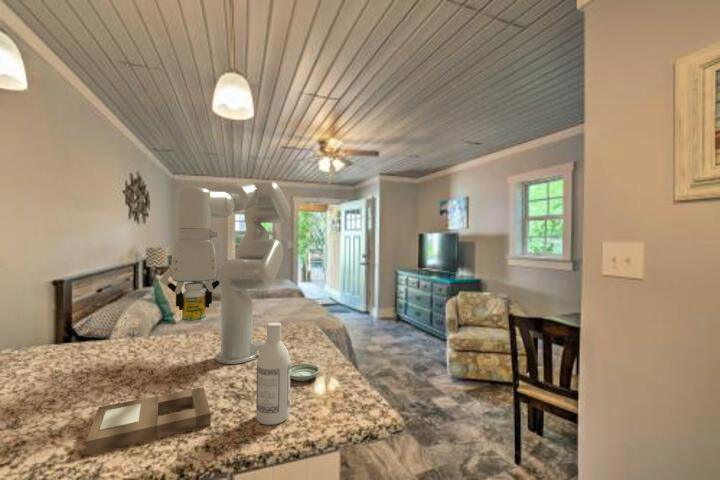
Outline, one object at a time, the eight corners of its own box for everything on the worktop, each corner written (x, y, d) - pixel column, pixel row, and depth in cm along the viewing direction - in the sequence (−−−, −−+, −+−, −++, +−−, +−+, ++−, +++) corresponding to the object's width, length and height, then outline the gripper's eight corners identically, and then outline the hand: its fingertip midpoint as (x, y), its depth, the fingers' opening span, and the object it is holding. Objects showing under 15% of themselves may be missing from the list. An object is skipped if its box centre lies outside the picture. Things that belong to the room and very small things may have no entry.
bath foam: (276, 406, 77) (277, 318, 77) (296, 416, 72) (297, 323, 73) (249, 418, 72) (250, 324, 72) (268, 430, 67) (270, 329, 67)
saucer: (326, 374, 96) (326, 366, 96) (307, 388, 87) (307, 378, 87) (298, 369, 100) (298, 360, 100) (277, 381, 91) (277, 372, 91)
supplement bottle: (203, 317, 89) (204, 281, 89) (207, 322, 84) (207, 283, 84) (180, 320, 86) (181, 282, 86) (183, 324, 81) (183, 285, 81)
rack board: (203, 397, 81) (203, 386, 81) (210, 425, 69) (210, 412, 69) (98, 418, 71) (99, 406, 71) (85, 456, 58) (85, 440, 58)
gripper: (228, 236, 93) (227, 302, 93) (155, 236, 84) (154, 308, 84) (232, 236, 86) (232, 307, 86) (154, 236, 77) (154, 314, 78)
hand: (194, 307), depth 85 cm, fingers closed on supplement bottle, 5 cm apart
